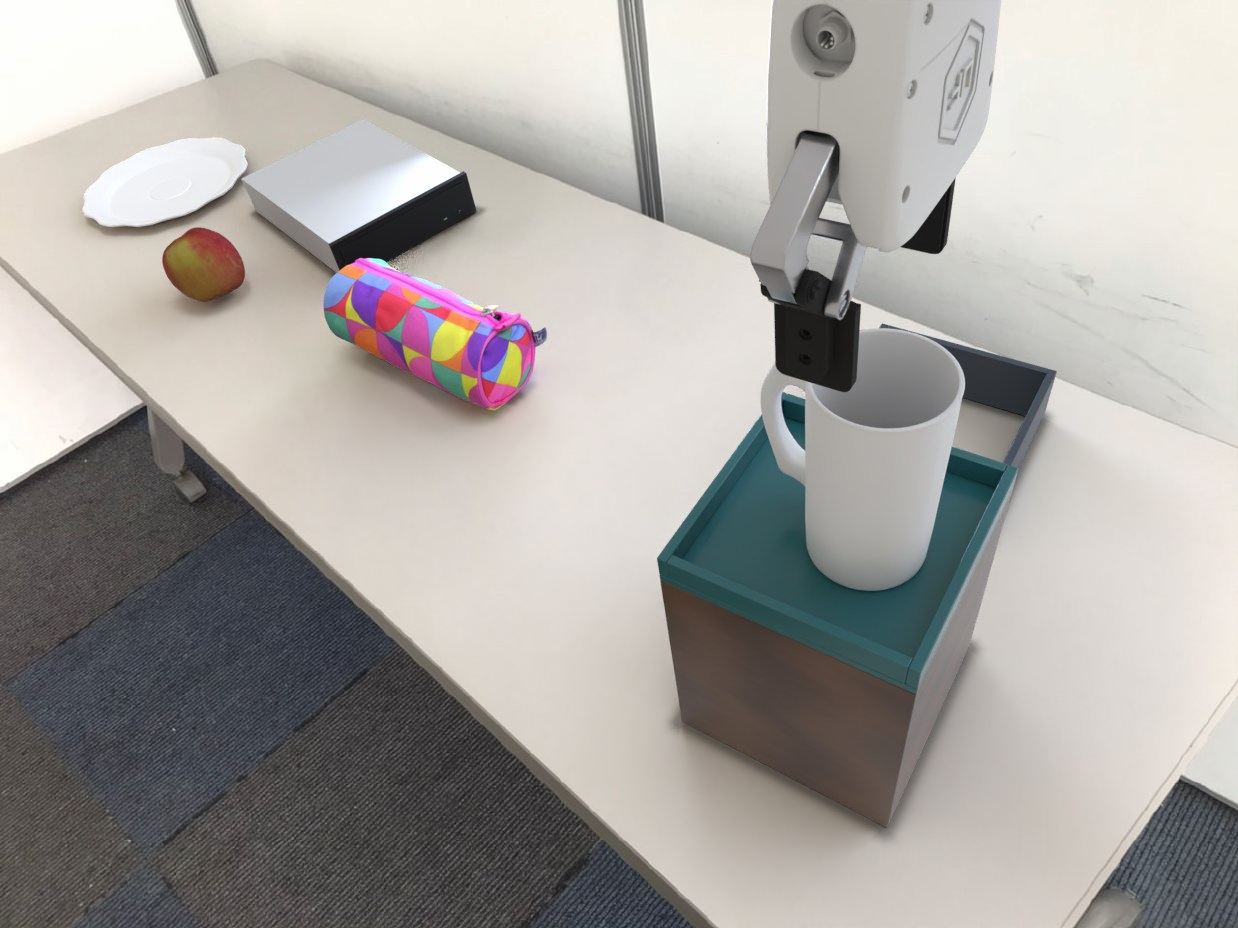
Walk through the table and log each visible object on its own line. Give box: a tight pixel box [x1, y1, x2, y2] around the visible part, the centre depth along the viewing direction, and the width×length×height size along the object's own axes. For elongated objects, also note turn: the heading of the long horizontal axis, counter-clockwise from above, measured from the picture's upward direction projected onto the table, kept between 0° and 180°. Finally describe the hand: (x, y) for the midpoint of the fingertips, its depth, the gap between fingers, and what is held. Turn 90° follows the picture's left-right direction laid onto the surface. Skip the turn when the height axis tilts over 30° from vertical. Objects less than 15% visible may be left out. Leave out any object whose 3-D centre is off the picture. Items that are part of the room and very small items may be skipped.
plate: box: [81, 136, 249, 228], centre depth 121 cm, size 21×21×2 cm
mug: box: [760, 327, 965, 591], centre depth 47 cm, size 10×7×12 cm, turn 47°
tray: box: [656, 391, 1019, 694], centre depth 51 cm, size 14×14×2 cm
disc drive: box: [241, 118, 477, 274], centre depth 110 cm, size 18×22×5 cm
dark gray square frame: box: [878, 322, 1058, 471], centre depth 74 cm, size 14×14×5 cm
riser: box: [659, 492, 1013, 829], centre depth 57 cm, size 14×14×16 cm
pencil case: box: [322, 258, 548, 411], centre depth 87 cm, size 22×9×9 cm, turn 56°
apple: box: [161, 226, 246, 303], centre depth 101 cm, size 8×8×8 cm
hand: (865, 307), depth 40 cm, fingers open, 9 cm apart
